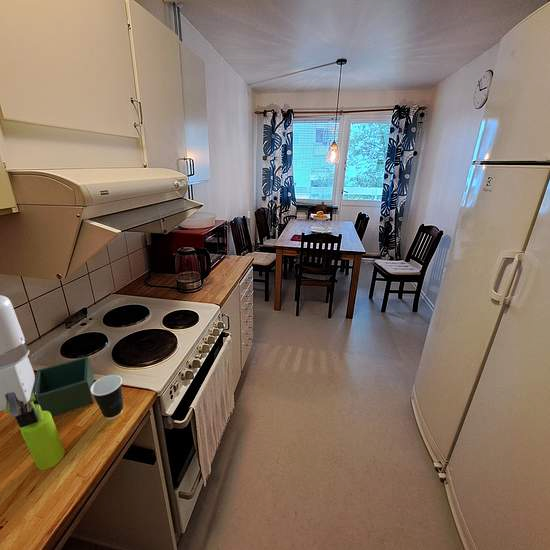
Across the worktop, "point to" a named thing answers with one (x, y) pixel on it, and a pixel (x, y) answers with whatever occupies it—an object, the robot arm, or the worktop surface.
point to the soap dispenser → (42, 438)
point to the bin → (64, 386)
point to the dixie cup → (108, 395)
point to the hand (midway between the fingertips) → (30, 417)
